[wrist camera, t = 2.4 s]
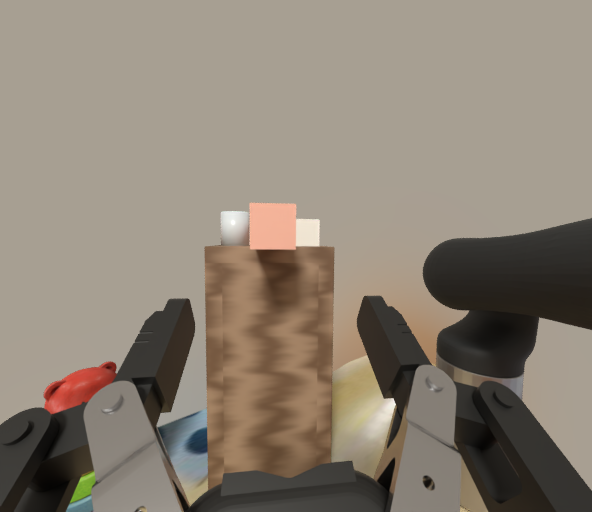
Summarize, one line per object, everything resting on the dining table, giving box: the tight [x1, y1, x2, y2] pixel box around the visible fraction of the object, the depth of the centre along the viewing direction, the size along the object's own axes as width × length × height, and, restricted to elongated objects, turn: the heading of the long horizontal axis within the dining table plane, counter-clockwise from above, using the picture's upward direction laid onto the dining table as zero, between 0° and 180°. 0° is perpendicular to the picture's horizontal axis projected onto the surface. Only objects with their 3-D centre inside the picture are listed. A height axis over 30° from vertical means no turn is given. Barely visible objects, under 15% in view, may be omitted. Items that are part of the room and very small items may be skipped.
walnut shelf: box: [205, 245, 334, 490], centre depth 38 cm, size 16×14×32 cm
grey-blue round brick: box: [221, 211, 249, 246], centre depth 38 cm, size 4×4×5 cm
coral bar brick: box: [250, 203, 296, 250], centre depth 33 cm, size 4×23×4 cm, turn 7°
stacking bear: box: [44, 362, 117, 512], centre depth 28 cm, size 11×10×18 cm
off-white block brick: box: [296, 219, 320, 246], centre depth 39 cm, size 4×5×4 cm
